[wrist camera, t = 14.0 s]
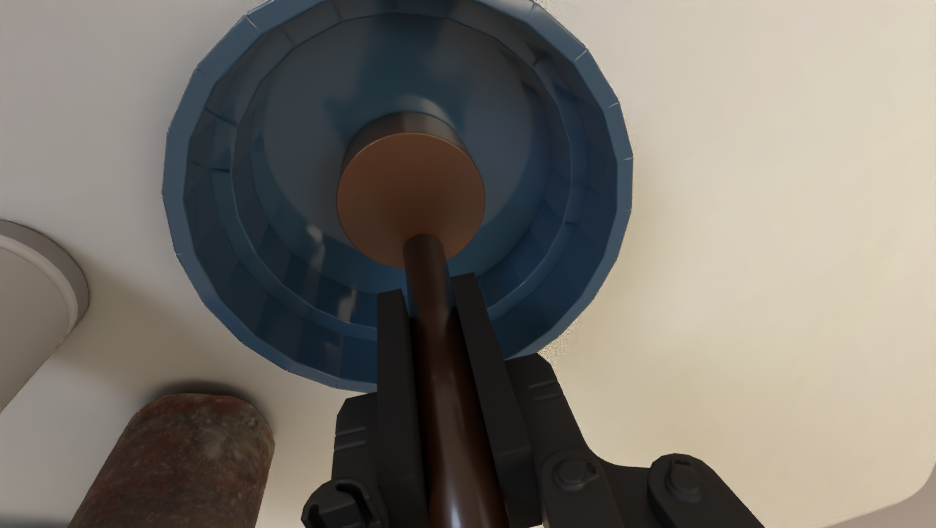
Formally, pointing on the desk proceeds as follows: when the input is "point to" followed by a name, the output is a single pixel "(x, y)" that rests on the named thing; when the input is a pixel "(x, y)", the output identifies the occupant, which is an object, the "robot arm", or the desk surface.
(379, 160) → the ladle
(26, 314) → the travel mug
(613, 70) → the desk surface
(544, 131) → the mixing bowl
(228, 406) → the brown cylinder
